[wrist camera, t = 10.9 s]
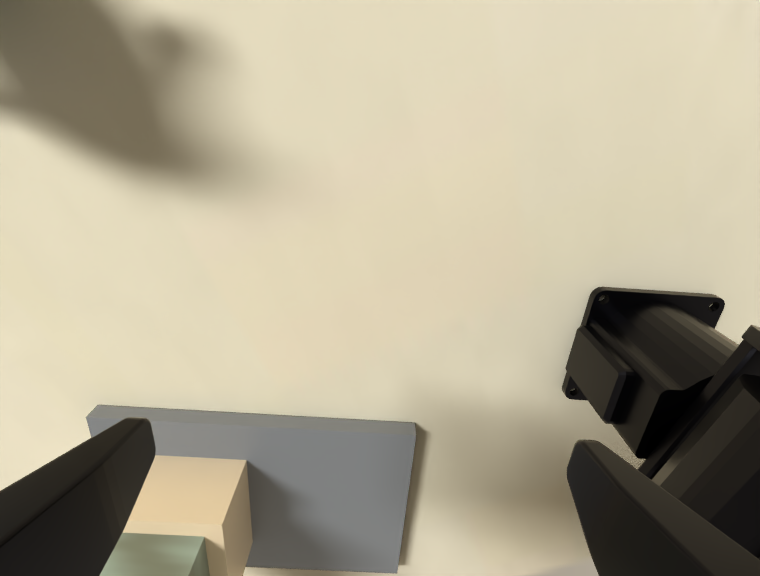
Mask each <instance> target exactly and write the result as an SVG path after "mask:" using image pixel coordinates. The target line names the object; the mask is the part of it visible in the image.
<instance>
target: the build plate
mask: <svg viewBox="0 0 760 576" xmlns="http://www.w3.org/2000/svg"><path fill="white" fill-rule="evenodd" d="M127 417H142V418H147V419H149V420H150V422H151V426H152V431H153V436H154V441H155V446H156V453H155V458H154V461H153V463H152V465H151V468H150V470H149V472H148V475H147V477H146V479H145V482H144V484H143V487H142V489H141V491H140V494H139V496H138V498H137V501H136V503H135V505H134V508H133V510H132V512H131V515H130V517H129V519H128V522H127V524H126V526H125V528H124V530H123V533H141V534H161V535H182V536H202V537H204V538H205V545H206V552H207V559H208V566H209V574H210V576H243V573H244V570H245V567H264V568H286V569H308V570H331V571H353V572H375V573H397V570H398V563H399V556H400V549H401V542H402V534H403V527H404V520H405V513H406V506H407V498H408V491H409V484H410V477H411V470H412V463H413V455H414V448H415V441H416V429H415V423H409V422H391V421H374V420H356V419H338V418H320V417H302V416H285V415H267V414H249V413H231V412H214V411H196V410H178V409H160V408H143V407H125V406H107V405H97V406H96V407H95V408H94V409H93V410H92V411H91V412H90V414H89V415H88V416H87V417H86V419H87V423H88V426H89V430H90V434H91V438H92V437H94V436H95V435H97V434H99V433H101V432H102V431H104V430H106V429H107V428H109V427H111V426H113V425H114V424H116V423H118V422H119V421H121V420H123V419H125V418H127Z"/></svg>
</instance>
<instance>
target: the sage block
mask: <svg viewBox="0 0 760 576" xmlns="http://www.w3.org/2000/svg"><path fill="white" fill-rule="evenodd" d="M100 576H210V574H209V566H208V559H207V552H206V545H205V538H204V537H202V536H182V535H161V534H141V533H122V535H121V537H120V538H119V540H118V542H117V544H116V546H115V548H114V550H113V552H112V554H111V555H110V557H109V559H108V561H107V563H106V565H105V566H104V568H103V570H102V572H101V574H100Z"/></svg>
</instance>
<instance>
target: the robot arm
mask: <svg viewBox="0 0 760 576" xmlns="http://www.w3.org/2000/svg"><path fill="white" fill-rule="evenodd" d="M602 295H605V297H604V299H603V300H601V301H599V298H600V297H601V296H602ZM712 303H713V305H712V306H711V307H709V306H710V304H712ZM724 305H725V303H724V300H723V299H721V298H720V297H718V296H716V295H713V294H701V293H686V292H671V291H656V290H641V289H626V288H611V287H598V288H596V289H594V290H593V291H592V293H591V294H590V297H589V300H588V303H587V307H586V310H585V313H584V317H583V320H582V323H581V326H580V327H579V328H578V329H577V332H576V335H575V339H574V342H573V345H572V349H571V352H570V355H569V359H568V362H567V365H566V370H567V373H566V376H565V379H564V383H563V386H562V391H563V393H564V394H565V396H566V397H567V398H569V399H575V400H588V401H589V402H590V404H591V405H592V406H593V408H594V409H595V411H596V412H597V413H598V415H599V416H600V418H601V419H602V420H603V421H604V422H605V423H606V424H612V425H613V426H614V427H615V429H616V430H617V431H618V433H619V434H620V435H621V437H622V438H623V439H624V441H625V442H626V444H627V445H628V446H629V448H630V449H631V450H632V452H633V453H634V454H635V456H636V457H637V458H640V459H646V460H645V461H644V462H643V463H642V465H641V466H640V467H639V468H638V470H637V469H636V468H634V467H633V466H632V465H630V464H629V463H628V462H626V461H625V460H623V459H622V458H621V457H619V456H618V455H617V454H615V453H614V452H613V451H611V450H610V449H609V448H607V447H606V446H604V445H603V444H602V443H600V442H598V441H595V440H578V441H577V442H576V443H575V445H574V448H573V451H572V454H571V457H570V461H569V464H568V467H567V479H568V483H569V486H570V489H571V492H572V496H573V499H574V502H575V506H576V509H577V512H578V516H579V519H580V522H581V525H582V529H583V532H584V535H585V539H586V542H587V545H588V548H589V551H590V554H591V556H592V559H593V562H594V564H595V567H596V569H597V572H598V574H599V576H760V327H757V326H754V325H751V326H750V327H749V328H748V329H747V331H746V332H745V333H744V334H743V336H742V338H743V339H744V340H743V341H742V342H741V343H740V345H738V344H736V343H735V342H733V341H732V340H730V339H729V338H727V337H726V336H724V335H723V334H721V333H719V332H718V331H716V330H715V326H716V324H717V322H718V320H719V317H720V315H721V313H722V311H723V309H724ZM573 388H575V390H573V391H570V390H571V389H573ZM155 453H156V446H155V441H154V436H153V431H152V426H151V422H150V420H149V419H147V418H142V417H127V418H125V419H123V420H121V421H119V422H118V423H116V424H114V425H113V426H111V427H109V428H107V429H106V430H104V431H102V432H101V433H99V434H97V435H95V436H94V437H92V438H90V439H89V440H87V441H85V442H83V443H82V444H80V445H78V446H77V447H75V448H73V449H71V450H70V451H68V452H66V453H65V454H63V455H61V456H59V457H58V458H56V459H54V460H53V461H51V462H49V463H47V464H46V465H44V466H42V467H41V468H39V469H37V470H35V471H34V472H32V473H30V474H29V475H27V476H25V477H23V478H22V479H20V480H18V481H17V482H15V483H13V484H11V485H10V486H8V487H6V488H5V489H3V490H1V491H0V576H100V574H101V572H102V570H103V568H104V566H105V565H106V563H107V561H108V559H109V557H110V555H111V554H112V552H113V550H114V548H115V546H116V544H117V542H118V540H119V538H120V537H121V535H122V533H123V530H124V528H125V526H126V524H127V522H128V519H129V517H130V515H131V512H132V510H133V508H134V505H135V503H136V501H137V498H138V496H139V494H140V491H141V489H142V487H143V484H144V482H145V479H146V477H147V475H148V472H149V470H150V468H151V465H152V463H153V461H154V458H155Z"/></svg>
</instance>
